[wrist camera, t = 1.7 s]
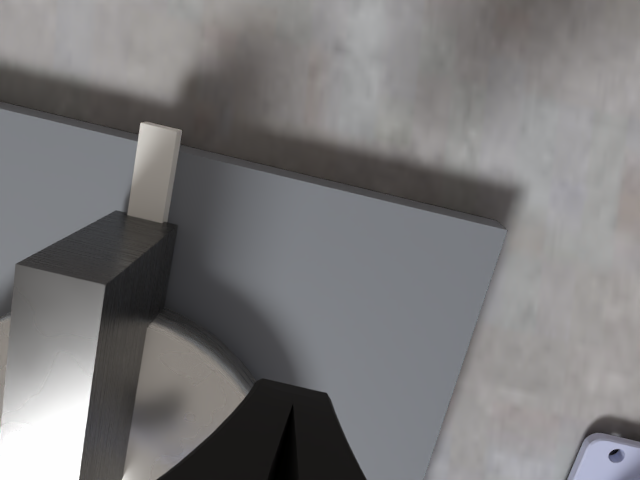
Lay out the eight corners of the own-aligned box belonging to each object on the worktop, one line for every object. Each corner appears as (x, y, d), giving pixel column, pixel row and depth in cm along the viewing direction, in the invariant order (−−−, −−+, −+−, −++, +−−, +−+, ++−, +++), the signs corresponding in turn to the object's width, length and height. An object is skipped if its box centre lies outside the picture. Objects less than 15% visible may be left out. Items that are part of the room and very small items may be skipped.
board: (502, 201, 17) (520, 214, 15) (339, 695, 22) (339, 743, 21) (-157, 42, 16) (-213, 37, 15) (-158, 585, 22) (-199, 626, 20)
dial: (245, 620, 19) (212, 794, 15) (-66, 551, 19) (-204, 706, 14) (335, 262, 16) (332, 337, 11) (-45, 172, 16) (-217, 209, 11)
